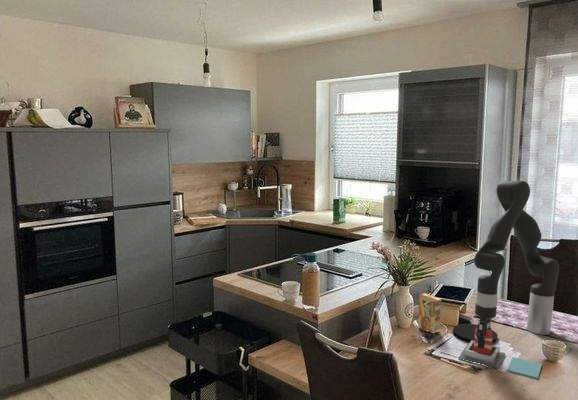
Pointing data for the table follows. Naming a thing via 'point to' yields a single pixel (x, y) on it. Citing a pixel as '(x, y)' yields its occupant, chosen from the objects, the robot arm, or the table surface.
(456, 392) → the table surface
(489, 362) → the can holder
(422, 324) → the candy box
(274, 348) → the table surface
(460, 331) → the black round disc
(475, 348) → the beverage can
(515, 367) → the mat
